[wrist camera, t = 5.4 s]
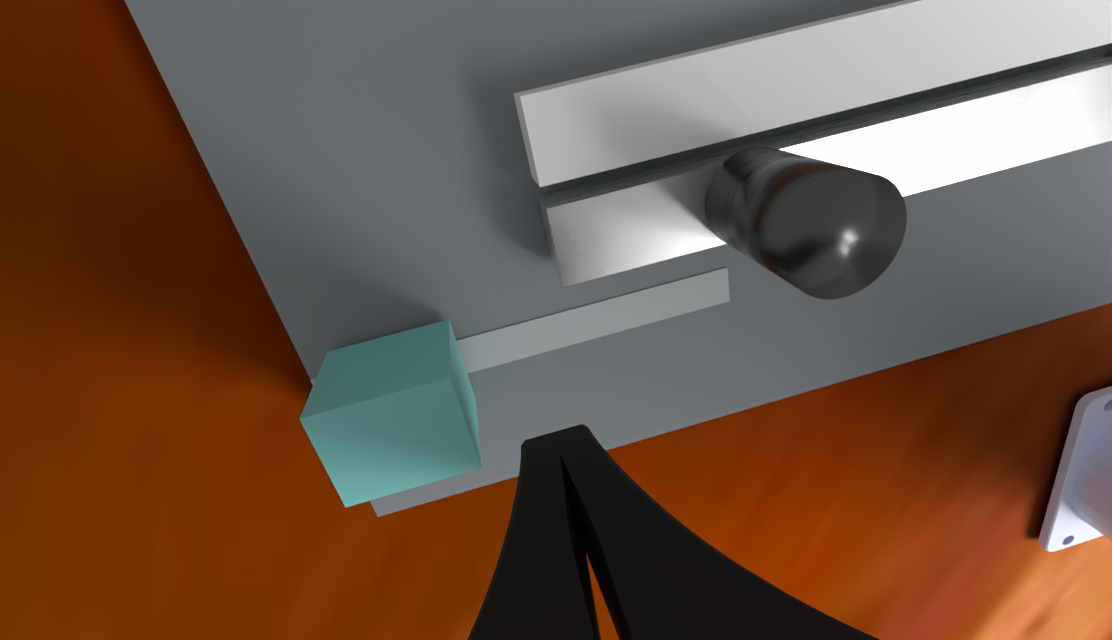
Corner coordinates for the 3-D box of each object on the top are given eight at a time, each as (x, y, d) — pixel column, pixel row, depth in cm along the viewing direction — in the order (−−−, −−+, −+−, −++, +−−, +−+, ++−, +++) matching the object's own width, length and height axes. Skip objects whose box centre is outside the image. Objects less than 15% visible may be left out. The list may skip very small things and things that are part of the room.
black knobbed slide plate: (1090, 47, 13) (1358, 41, 9) (1070, 140, 14) (1306, 167, 10) (536, 188, 12) (578, 245, 8) (555, 276, 13) (602, 365, 9)
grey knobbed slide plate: (1315, -363, 11) (1517, -462, 9) (1125, 285, 18) (1216, 315, 16) (82, -119, 10) (-23, -172, 7) (380, 501, 16) (370, 568, 14)
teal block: (449, 319, 13) (450, 377, 11) (475, 398, 14) (481, 468, 12) (327, 351, 13) (299, 418, 11) (363, 430, 14) (345, 507, 12)
